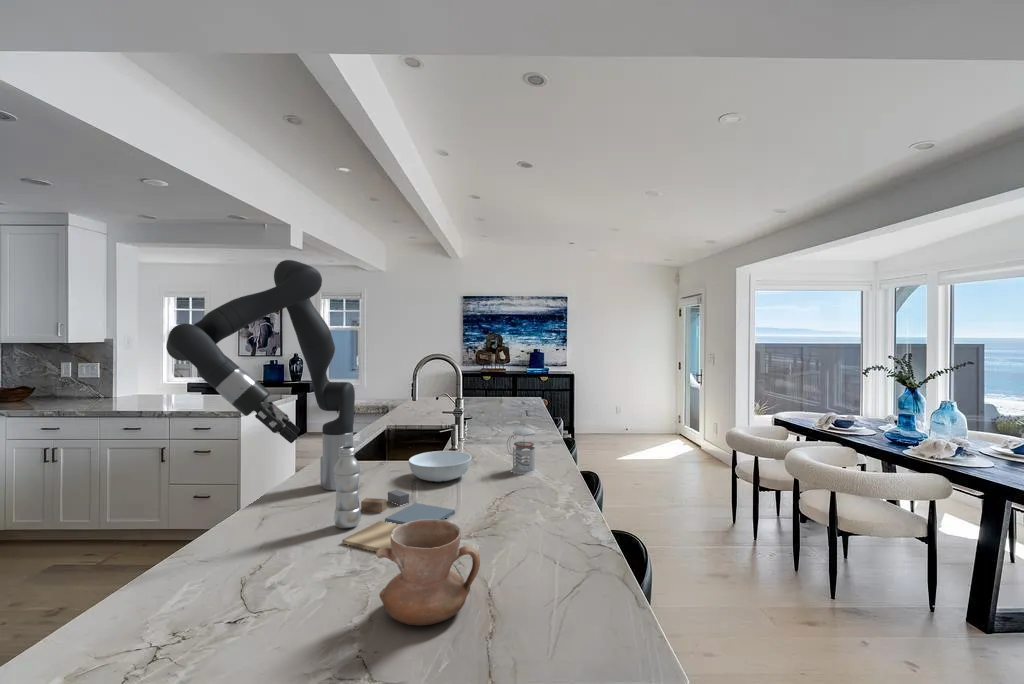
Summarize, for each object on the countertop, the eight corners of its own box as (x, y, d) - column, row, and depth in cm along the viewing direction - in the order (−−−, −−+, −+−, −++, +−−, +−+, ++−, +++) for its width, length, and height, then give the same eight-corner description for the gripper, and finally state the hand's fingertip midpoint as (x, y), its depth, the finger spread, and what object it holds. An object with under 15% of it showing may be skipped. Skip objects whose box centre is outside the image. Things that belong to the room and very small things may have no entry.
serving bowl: (420, 468, 182) (420, 449, 182) (477, 470, 179) (477, 451, 179) (399, 486, 161) (399, 464, 161) (463, 489, 158) (463, 467, 158)
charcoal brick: (387, 502, 146) (387, 492, 146) (396, 499, 148) (396, 489, 148) (400, 507, 142) (400, 496, 142) (408, 504, 144) (408, 494, 144)
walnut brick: (361, 512, 138) (361, 501, 138) (365, 508, 141) (365, 498, 141) (382, 513, 137) (382, 502, 137) (386, 509, 140) (386, 499, 140)
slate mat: (385, 522, 130) (385, 518, 130) (415, 506, 142) (415, 502, 142) (426, 530, 125) (426, 526, 125) (454, 513, 136) (454, 509, 136)
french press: (528, 476, 172) (528, 403, 171) (500, 471, 178) (500, 400, 177) (542, 469, 180) (542, 399, 179) (515, 465, 186) (515, 397, 186)
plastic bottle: (366, 523, 129) (366, 445, 129) (349, 533, 123) (349, 451, 123) (345, 520, 132) (345, 443, 131) (328, 529, 125) (327, 449, 125)
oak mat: (342, 543, 117) (342, 539, 117) (379, 524, 128) (379, 520, 128) (386, 554, 111) (386, 550, 111) (421, 533, 123) (421, 529, 123)
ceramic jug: (367, 638, 81) (369, 550, 80) (382, 591, 95) (383, 516, 95) (480, 634, 82) (482, 548, 82) (478, 588, 97) (479, 515, 96)
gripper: (251, 382, 113) (306, 430, 117) (260, 377, 126) (309, 420, 130) (224, 407, 111) (281, 455, 115) (236, 399, 125) (287, 442, 129)
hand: (296, 436), depth 123 cm, fingers open, 8 cm apart
